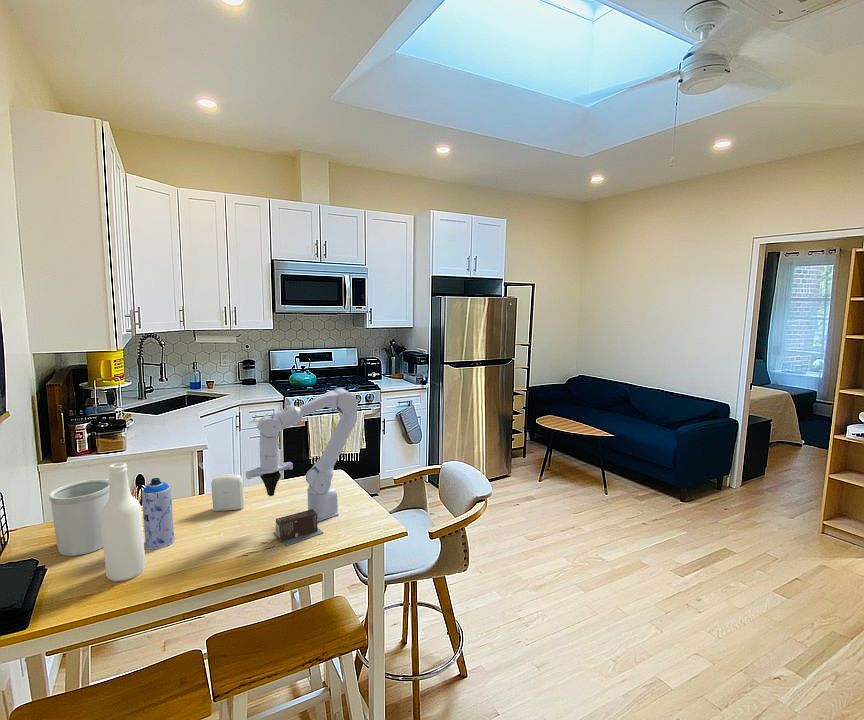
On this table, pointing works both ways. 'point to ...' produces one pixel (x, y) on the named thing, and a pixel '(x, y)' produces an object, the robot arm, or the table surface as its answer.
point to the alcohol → (122, 528)
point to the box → (296, 525)
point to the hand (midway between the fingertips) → (270, 495)
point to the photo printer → (227, 492)
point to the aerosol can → (157, 515)
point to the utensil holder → (79, 516)
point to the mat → (301, 537)
